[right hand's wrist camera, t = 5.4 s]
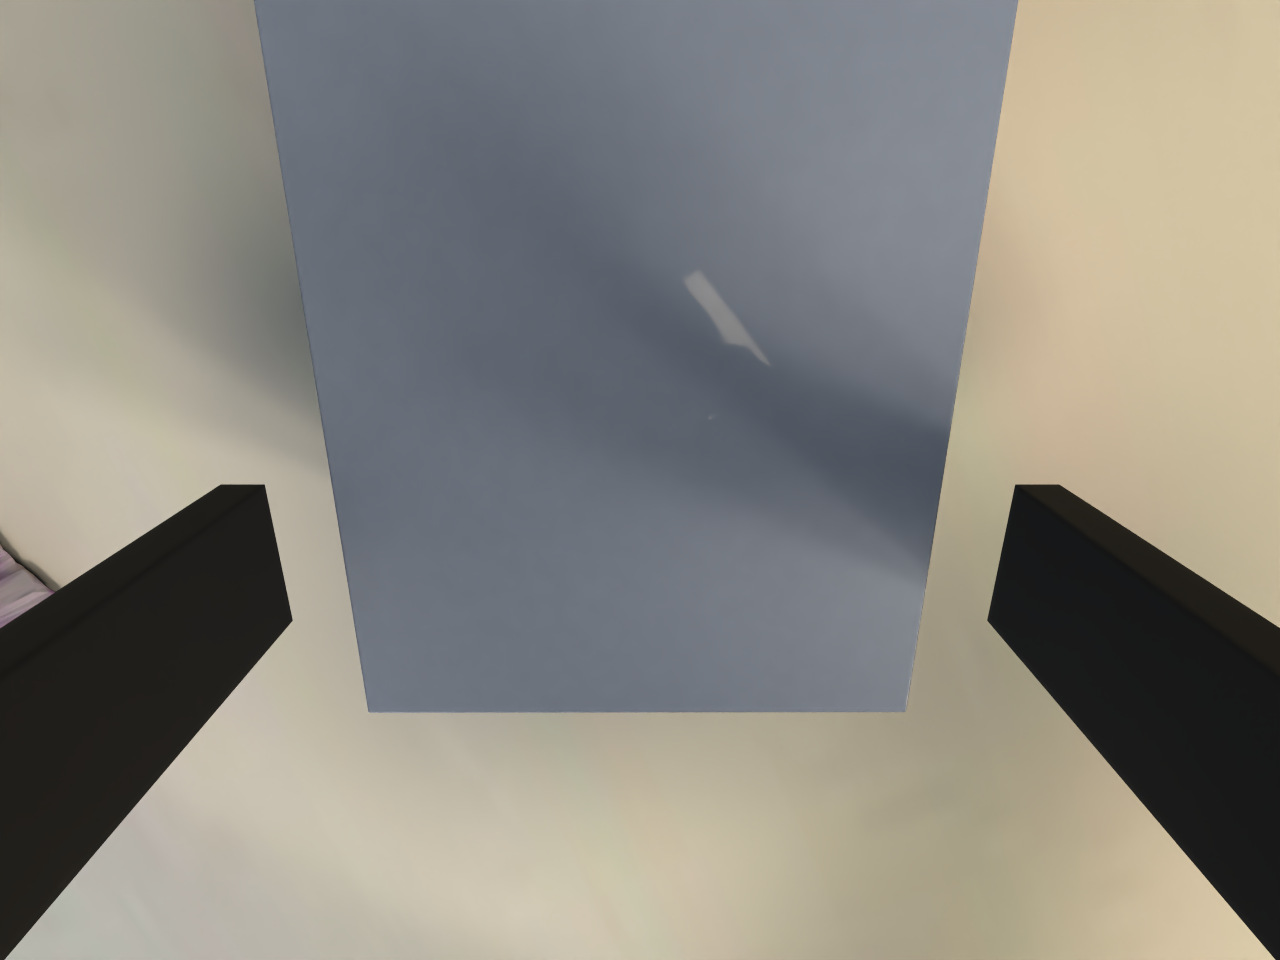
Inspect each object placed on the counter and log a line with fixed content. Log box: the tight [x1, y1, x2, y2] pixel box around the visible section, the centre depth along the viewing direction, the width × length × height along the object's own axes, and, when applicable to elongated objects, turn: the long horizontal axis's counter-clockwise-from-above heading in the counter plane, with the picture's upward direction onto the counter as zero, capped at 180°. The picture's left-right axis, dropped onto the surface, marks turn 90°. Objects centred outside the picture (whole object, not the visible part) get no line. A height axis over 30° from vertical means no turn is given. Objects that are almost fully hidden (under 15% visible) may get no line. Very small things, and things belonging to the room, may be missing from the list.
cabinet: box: [254, 0, 1018, 713], centre depth 15 cm, size 22×11×9 cm, turn 0°
